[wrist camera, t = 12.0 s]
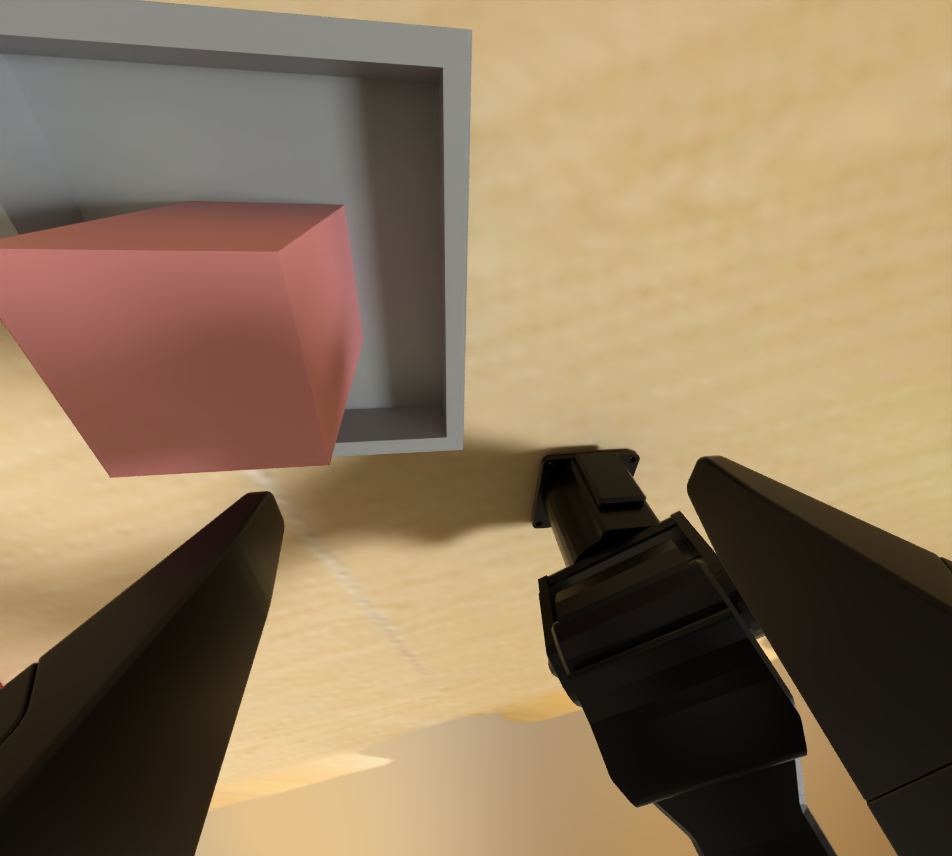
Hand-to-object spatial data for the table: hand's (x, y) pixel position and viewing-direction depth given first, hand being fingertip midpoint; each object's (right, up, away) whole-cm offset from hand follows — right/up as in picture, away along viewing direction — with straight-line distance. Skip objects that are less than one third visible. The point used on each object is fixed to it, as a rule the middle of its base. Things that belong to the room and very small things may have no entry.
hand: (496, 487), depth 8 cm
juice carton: (-8, +7, +8) cm, 14 cm away
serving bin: (-9, +8, +8) cm, 14 cm away
